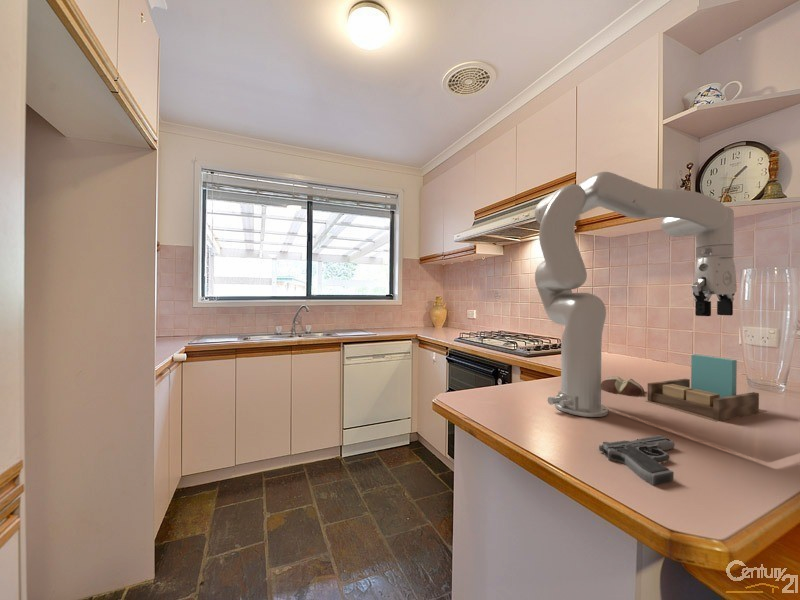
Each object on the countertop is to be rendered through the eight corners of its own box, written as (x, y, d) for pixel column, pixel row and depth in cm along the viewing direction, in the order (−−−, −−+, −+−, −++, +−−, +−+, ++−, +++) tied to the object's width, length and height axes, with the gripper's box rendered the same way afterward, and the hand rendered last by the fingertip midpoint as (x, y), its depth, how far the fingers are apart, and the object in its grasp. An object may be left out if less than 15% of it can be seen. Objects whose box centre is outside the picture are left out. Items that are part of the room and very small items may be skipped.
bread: (607, 387, 110) (607, 372, 110) (648, 395, 101) (648, 379, 101) (594, 393, 103) (594, 377, 103) (636, 402, 95) (636, 385, 95)
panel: (731, 410, 85) (732, 360, 85) (691, 399, 93) (691, 354, 93) (736, 409, 85) (736, 360, 85) (695, 399, 94) (695, 354, 94)
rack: (715, 425, 77) (716, 400, 77) (645, 404, 92) (645, 383, 92) (767, 414, 84) (767, 391, 84) (694, 397, 99) (694, 377, 99)
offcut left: (683, 408, 85) (683, 389, 85) (662, 402, 90) (662, 385, 90) (692, 407, 87) (693, 388, 87) (671, 401, 92) (672, 383, 91)
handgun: (726, 459, 57) (655, 431, 68) (653, 474, 52) (590, 440, 63) (726, 474, 57) (655, 443, 68) (652, 489, 52) (590, 453, 63)
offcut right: (709, 416, 80) (709, 395, 80) (686, 409, 85) (686, 390, 85) (719, 414, 82) (719, 394, 82) (695, 407, 86) (695, 389, 86)
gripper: (711, 250, 83) (711, 317, 83) (750, 253, 88) (750, 315, 88) (678, 254, 90) (678, 315, 90) (716, 256, 95) (716, 314, 96)
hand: (714, 315), depth 89 cm, fingers open, 9 cm apart
